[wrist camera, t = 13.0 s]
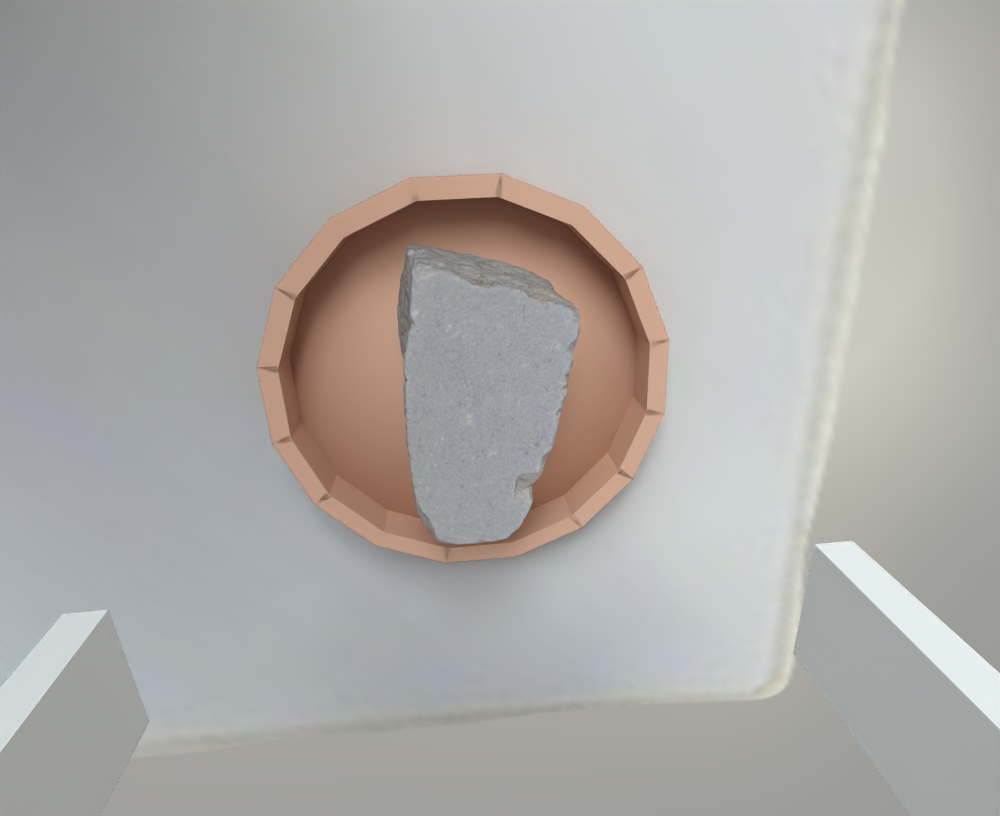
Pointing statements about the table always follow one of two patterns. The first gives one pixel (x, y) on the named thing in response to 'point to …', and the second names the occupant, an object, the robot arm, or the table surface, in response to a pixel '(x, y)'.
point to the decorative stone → (480, 388)
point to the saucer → (380, 364)
